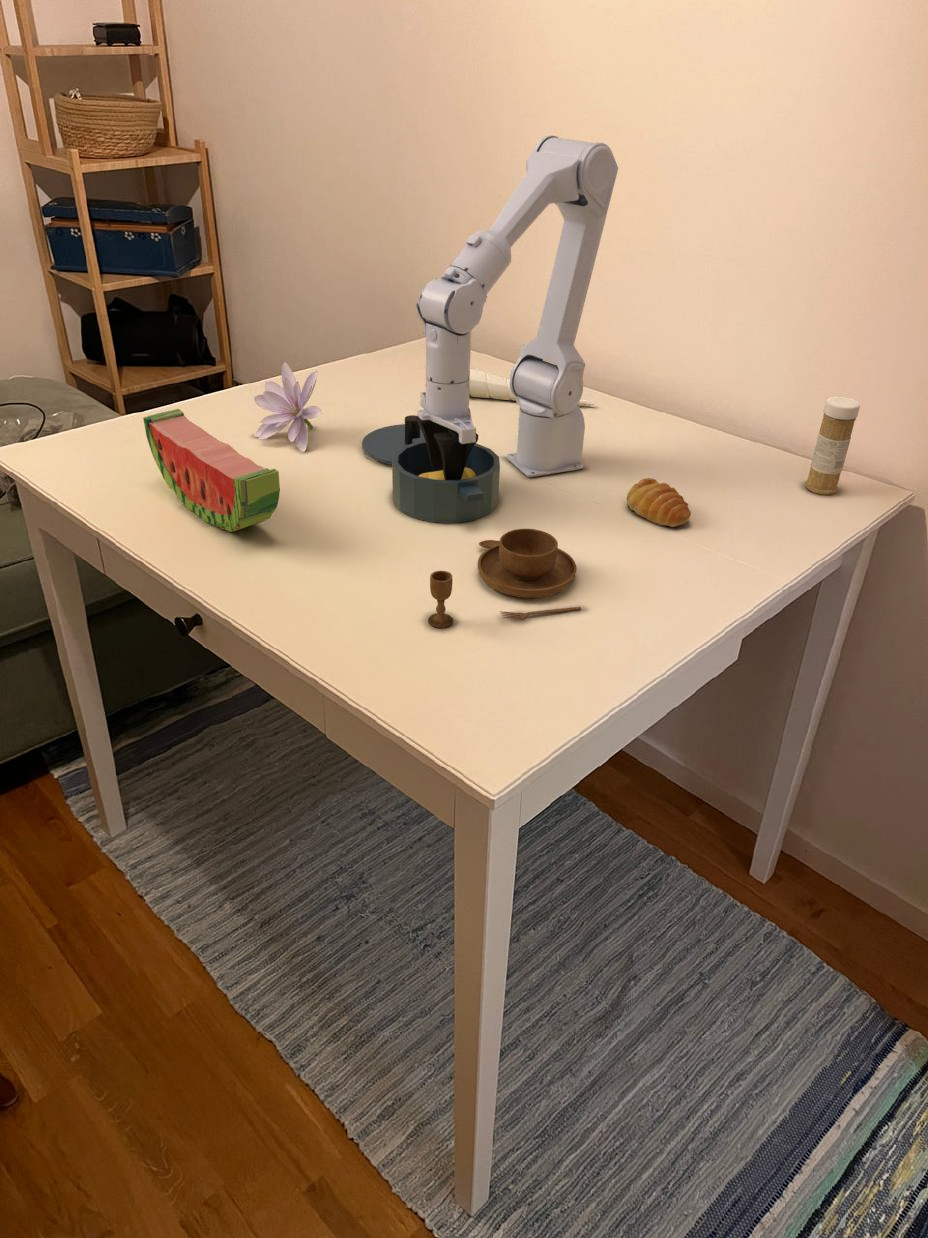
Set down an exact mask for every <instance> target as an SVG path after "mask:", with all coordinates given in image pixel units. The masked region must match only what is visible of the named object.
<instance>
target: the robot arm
mask: <svg viewBox="0 0 928 1238" xmlns="http://www.w3.org/2000/svg"><path fill="white" fill-rule="evenodd" d="M618 171H619V166H618V163H617V161H616V159H615V156H614V153H613V151H612V149H611V148H610V146H609V145H608V144H606V143H604V142H599V141H597V142H590V141H583V140H576V139H569V138H563V137H559V136H557V135H551V134H550V135H546V136H544V137H542V138H541V139H540V140H539V141H538V142H537V144H536V145H535V146H534V149H533V151H532V152H531V153H530V154H529V155H528V156H527V157H526V163H525V174H524V176H523V177H522V179H521V180H520V182H519V183H518V185H517V186H516V188H515V190H514V191H513V193H511V196H510V197H509V199H508V200H507V202H506V204H505V205H504V207H503V208H502V210H501V211H500V213H499V214H498V216H497V217H496V218H495V220H494V222H493V223H492V225H491V226H490V228H489V229H486V230H477V231H475V232H474V233H473V234H470V235H469V237H468V238H467V239H466V241H465V243H466V244H465V245H464V246H463V248H462V249H461V251H459V253H458V255H457V256H456V257H455V258H454V260H453V261H452V263H450V265H449V266H448V267H447V268H446V269H445V271H444V273H442V275H441V277H437V278H436V277H435V279H431V281H429V282H428V283H426V284H425V285H424V286H423V288H422V289H421V291H420V293H419V297H418V301H417V302H416V303H415V310H416V311H415V312H416V314H417V316H418V318H419V320H420V321H421V323H422V334H423V335H424V337H425V391H423V392H420V397H419V398H420V399H419V401H420V402H419V403H420V407H421V408H423V409H418V410H417V411H416V416H418V417H417V419H416V420H417V422H418V424H419V426H420V428H421V430H422V432H423V435H424V438H425V441H426V445H427V449H428V454H429V459H430V463H431V466H432V467H433V468H438V467H443V473H444V478H445V480H461V478H462V475H463V472H464V468H465V465H466V461H467V459H468V456H469V454H470V452H471V450H472V448H473V447H474V445H475V444H476V443H478V441H479V434H478V433H477V427H475V426H474V423H473V418H472V413H471V409H470V396H469V384H470V368H471V349H472V330H473V329H474V328H475V327H476V326H477V325H479V323H480V321H481V319H482V316H483V312H484V311H483V310H484V306H485V304H486V302H487V298H488V294H489V292H490V291H491V290H492V289H493V287H494V285H495V284H496V283H497V282H498V280H499V279H500V278H501V277H502V275H503V274H504V273H505V271H506V270H507V269H508V267H509V266H510V265H511V263H512V247H513V246H514V245H515V244H516V243H517V241H518V240H519V239H520V238H521V237H522V236H523V235H524V234H525V232H527V230H528V229H529V228H530V226H532V224H533V223H534V222H535V221H536V220H537V219H538V218H539V217H540V215H541V214H542V213H543V212H544V211H545V209H546V208H547V207H548V206H549V205H552V204H554V205H556V207H557V208H558V210H559V212H560V214H561V216H562V218H563V224H562V229H561V232H560V236H559V241H558V245H557V249H556V253H555V258H554V262H553V267H552V270H551V275H550V279H549V283H548V287H547V291H546V296H545V300H544V304H543V309H542V312H541V317H540V322H539V326H538V329H537V334H536V336H535V337H534V338H533V339H531V340H530V341H528V342H526V343H525V344H523V345H522V346H521V347H520V350H519V351H520V352H519V355H518V358H517V360H516V362H515V364H514V366H513V367H512V369H511V372H510V375H509V379H510V389H511V392H512V393H513V395H515V396H516V397H517V401H515V402H516V405H517V406H519V415H518V428H517V429H518V431H517V442H516V443H517V445H516V452H514V453H508V454H506V455H505V458H506V460H508V461H509V462H510V463H511V464H512V465H513V466H515V467H516V468H517V469H518V470H519V471H520V472H521V473H523V474H524V475H525V476H526V477H527V478H534V477H541V476H547V475H554V474H559V473H564V472H571V471H577V470H583V469H584V467H585V466H584V464H582V458H583V451H584V441H585V433H586V432H585V430H586V423H585V416H584V414H583V411H582V410H581V408H580V406H577V404H578V403H579V401H580V399H582V396H583V391H584V373H585V372H584V371H585V369H586V363H585V360H584V359H583V358H582V356H581V354H580V353H579V351H578V350H577V348H576V347H575V346H576V345H575V342H576V338H577V334H578V330H579V326H580V322H581V318H582V315H583V311H584V306H585V302H586V299H587V295H588V291H589V287H590V283H591V279H592V274H593V271H594V268H595V267H594V266H595V263H596V259H597V255H598V252H599V248H600V244H601V239H602V236H603V232H604V228H605V224H606V219H607V215H608V211H609V207H610V203H611V200H612V195H613V191H614V187H615V183H616V179H617V175H618Z"/></svg>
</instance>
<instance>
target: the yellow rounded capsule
mask: <svg viewBox="0 0 928 1238" xmlns="http://www.w3.org/2000/svg"><path fill="white" fill-rule="evenodd" d="M419 477H424V478H429V479H434V480H445V478H444V473H443V470H441V471H435V472H428V473H423V474H420V475H419ZM474 477H477V476H476V474H475V472H474V471H473V470H471V469H470V468H467V467H465V468H464V472H463V475H462V478H461V480H462V479H468V478H474Z"/></svg>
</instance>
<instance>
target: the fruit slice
mask: <svg viewBox="0 0 928 1238" xmlns="http://www.w3.org/2000/svg"><path fill="white" fill-rule="evenodd" d="M184 414H185V413H184V412H183V410H181V409H179V408H175V409H172V410H171V409H170V410H167V411H163V412H158V413H155V414H150V415H146V416H143V417H142V420H143V426H144V431H145V436H146V439H147V443H148V446H149V449H150V452H151V454H152V458H153V459H154V462H155V464H156V466H157V468H158V470H159V472H160V473H161V476H162V478H163V480H164V481H165V483H166V484H167V486H168V487H169V488H170V490H171V491H173V492H174V493H175V495H176V496H177V497H178V499H179V500H180V502H182V504H183V505H184V506H185V507H186V508H187V509H188V510H189V511H190V512H192V513H193V514H194V515H195V516H197V517H198V518H199V519H201V520H203V521H204V522H206V523H208V524H211V525H213V526H214V527H218V529H222V530H225V531H228V532H230V533H234V532H236V531H239V530H242V529H245V528H248V527H252V526H255V525H257V524H260V523H263V522H265V521H269V520H271V518H272V516H273V514H274V512H275V511H276V509H277V507H278V505H279V500H280V492H281V486H280V485H281V484H280V473H279V470H277V469H276V468H272V469H269V468H267V467H266V468H265V467H263V466H261V465H258V464H257V463H256V462H254V461H253V460H252V459H250V458H248V457H245V456H244V455H242V454H240V453H238V451H236V450H235V449H234V448H233V446H231V445H230V444H229V443H226V442H223V441H220V440H219V439H218V438H216V437H214V436H213V435H212V434H210V433H208V432H207V431H206V430H204V429H203V428H202V427H201V426H199V425H197V424H195V423H194V422H193V421H191V420H189V419H188V417H186V416H185V415H184Z"/></svg>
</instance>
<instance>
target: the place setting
mask: <svg viewBox="0 0 928 1238" xmlns="http://www.w3.org/2000/svg"><path fill="white" fill-rule="evenodd" d="M478 545H479V546H480V547H481V548H484V549H485V550H484V551H482V553H481V554H480V555H479V557H478V559H477V571H478V574H479V576H480V578H481V579H482V580H483V582H484V583H485V584H486V585H487V586H489V587H490V588H492V589H494V590H495V591H497V592H499V593H502V594H505V595H508V596H511V597H515V598H526V599H527V598H528V599H535V598H537V599H538V598H544V597H551V596H553V595H556V594H558V593H560V592H563V591H564V590H566V589H567V588H568V587H569V586H570V585H572V583H573V581H574V580H575V577H576V575H577V564H576V560H574V559H573V557H572V556H571V555H570V554H569V553H567V551H564V550H562V549H561V548H560V547H559V541H558V540H557V539H556V538H555V537H554V536H553V535H552V534H550V533H548V532H547V531H543V530H540V529H535V528H516V529H513V530H509V531H507V532H505V533H503V534H502V535H501V536H500V538H499V540H495V539H485V540H482V541H480V542H478ZM429 589H430V591H429V592H430V594H431V596H432V598H434V599H435V600H436V603H437V605H436V607H435V611H436V613H433V614H431V615H430V616H429V617H428V618H427V623H428V624H429V625H430V626H431V627H433V628H435V629H445V628H449V627H450V626H452V624H454V618H453V617H452V616H451V615H450V614H448V613H446V609H447V608H446V606H445V602H446V600H448V599H449V598H450V597H451V595H452V592H453V574H452V573H451V572H449V571H447V570H435V571H433V572H431V573H430V576H429ZM578 610H582V607H581V606H574V607H572V606H571V607H562V608H554V609H553V608H552V609H543V610H535V611H527V612H512V611H499V613H500V615H501V616H502V617H503V618H504V619H511V620H525V619H527V618H528V617H529V616H532V615H543V614H545V615H546V614H554V613H563V612H570V611H578Z"/></svg>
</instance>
